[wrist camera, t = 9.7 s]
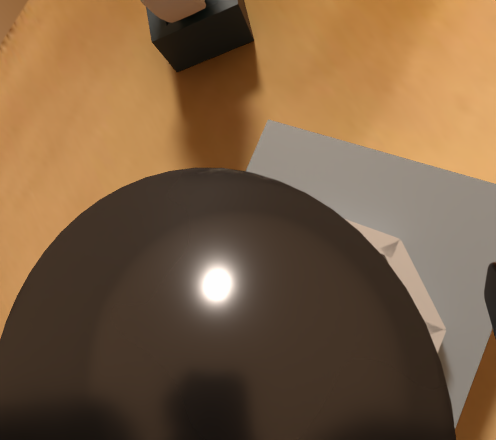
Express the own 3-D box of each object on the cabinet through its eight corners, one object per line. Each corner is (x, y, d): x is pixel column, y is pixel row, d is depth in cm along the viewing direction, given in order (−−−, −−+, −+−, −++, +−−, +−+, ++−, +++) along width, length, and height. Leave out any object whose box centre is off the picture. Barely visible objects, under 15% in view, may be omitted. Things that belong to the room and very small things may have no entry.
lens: (390, 382, 15) (527, 809, 2) (269, 384, 16) (-33, 668, 4) (371, 257, 16) (399, 126, 4) (259, 269, 17) (3, 203, 5)
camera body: (386, 547, 16) (394, 637, 12) (168, 404, 20) (117, 432, 16) (512, 213, 17) (560, 186, 13) (280, 142, 21) (260, 104, 17)
